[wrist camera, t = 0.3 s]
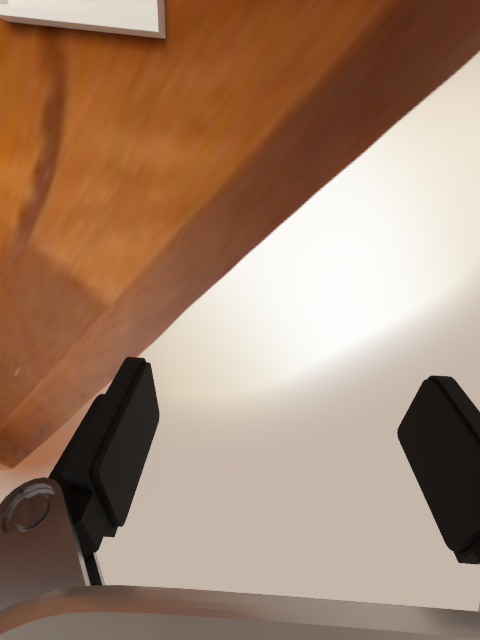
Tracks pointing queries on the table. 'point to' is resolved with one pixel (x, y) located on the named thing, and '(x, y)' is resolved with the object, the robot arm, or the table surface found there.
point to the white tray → (91, 15)
